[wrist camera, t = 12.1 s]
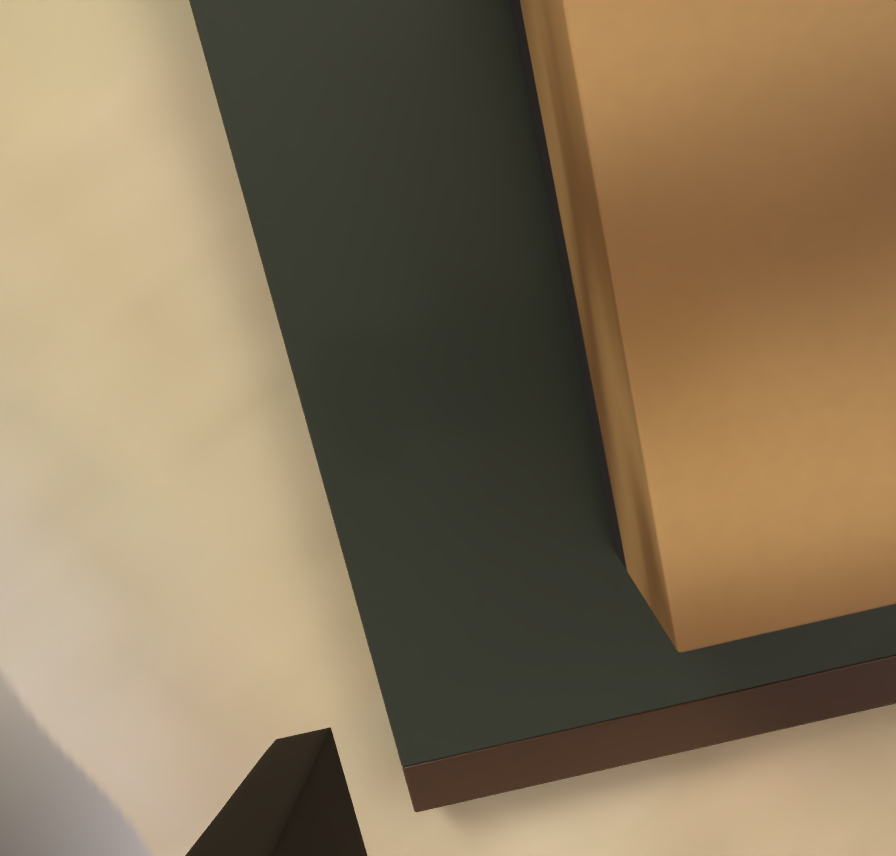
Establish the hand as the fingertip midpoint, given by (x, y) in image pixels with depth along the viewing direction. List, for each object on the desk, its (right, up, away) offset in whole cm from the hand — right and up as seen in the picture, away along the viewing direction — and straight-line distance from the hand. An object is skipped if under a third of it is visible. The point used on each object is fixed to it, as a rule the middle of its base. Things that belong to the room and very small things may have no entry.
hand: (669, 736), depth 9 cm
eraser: (+2, +7, +7) cm, 10 cm away
